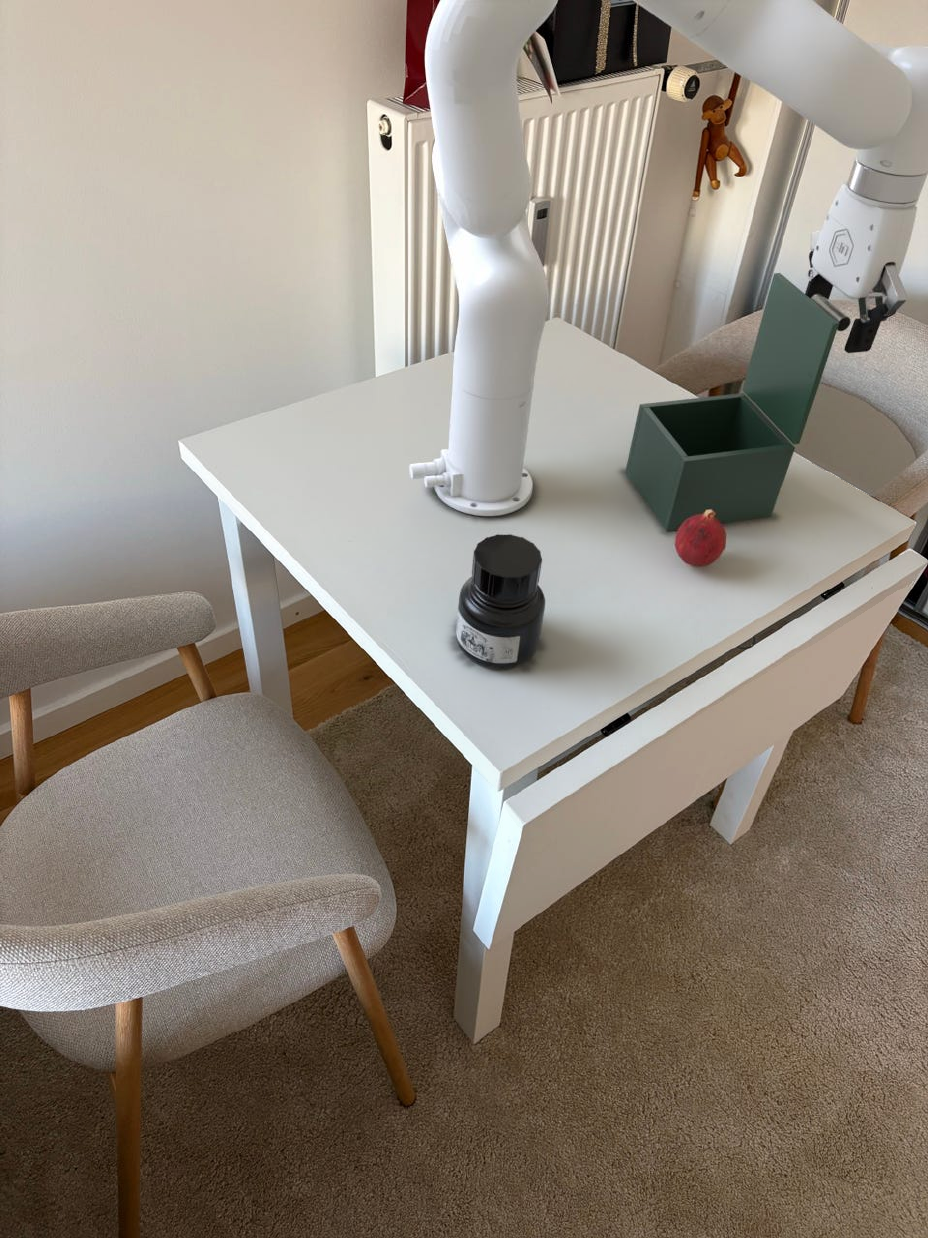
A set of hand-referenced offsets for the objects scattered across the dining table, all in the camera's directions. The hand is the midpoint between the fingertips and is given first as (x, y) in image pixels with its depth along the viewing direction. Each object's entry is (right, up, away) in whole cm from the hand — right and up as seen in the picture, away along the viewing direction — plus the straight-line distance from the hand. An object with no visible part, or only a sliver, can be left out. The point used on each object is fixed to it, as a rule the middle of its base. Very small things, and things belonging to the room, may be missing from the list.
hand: (833, 330), depth 116 cm
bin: (-13, -18, +12) cm, 25 cm away
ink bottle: (-40, -37, -10) cm, 55 cm away
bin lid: (-6, -3, +1) cm, 7 cm away
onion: (-16, -28, +1) cm, 32 cm away
